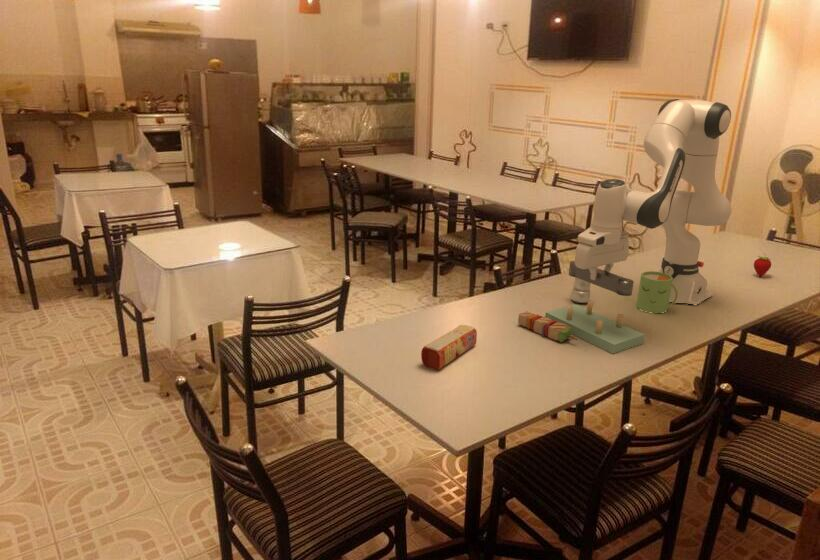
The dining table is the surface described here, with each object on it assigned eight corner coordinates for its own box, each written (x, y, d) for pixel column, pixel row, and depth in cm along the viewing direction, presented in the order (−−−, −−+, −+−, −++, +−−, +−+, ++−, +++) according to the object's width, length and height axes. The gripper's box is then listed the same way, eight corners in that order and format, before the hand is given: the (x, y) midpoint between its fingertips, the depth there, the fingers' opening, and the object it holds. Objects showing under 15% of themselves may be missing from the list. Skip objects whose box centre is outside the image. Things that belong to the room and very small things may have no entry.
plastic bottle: (573, 297, 221) (579, 244, 214) (591, 301, 218) (598, 247, 211) (567, 302, 216) (574, 248, 209) (586, 306, 212) (593, 252, 206)
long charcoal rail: (575, 272, 197) (576, 260, 196) (634, 294, 179) (636, 281, 178) (565, 274, 195) (567, 262, 194) (625, 297, 177) (627, 284, 175)
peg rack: (574, 312, 207) (577, 293, 205) (643, 343, 185) (647, 322, 183) (544, 320, 200) (546, 300, 198) (612, 353, 178) (615, 332, 176)
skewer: (515, 326, 195) (516, 312, 194) (527, 321, 200) (529, 307, 198) (569, 349, 181) (571, 334, 179) (581, 343, 185) (583, 328, 183)
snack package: (459, 340, 185) (460, 320, 183) (478, 346, 181) (479, 325, 179) (419, 366, 169) (420, 344, 166) (439, 373, 165) (440, 351, 163)
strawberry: (747, 276, 247) (752, 252, 244) (756, 273, 251) (762, 250, 248) (762, 280, 243) (768, 256, 239) (771, 277, 247) (777, 253, 243)
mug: (633, 310, 210) (639, 278, 206) (638, 301, 219) (643, 269, 215) (673, 318, 204) (679, 284, 200) (676, 307, 213) (682, 275, 209)
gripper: (620, 228, 190) (613, 270, 194) (573, 236, 179) (568, 280, 184) (636, 232, 185) (630, 275, 189) (590, 241, 174) (584, 286, 179)
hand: (599, 278), depth 186 cm, fingers closed on long charcoal rail, 3 cm apart
